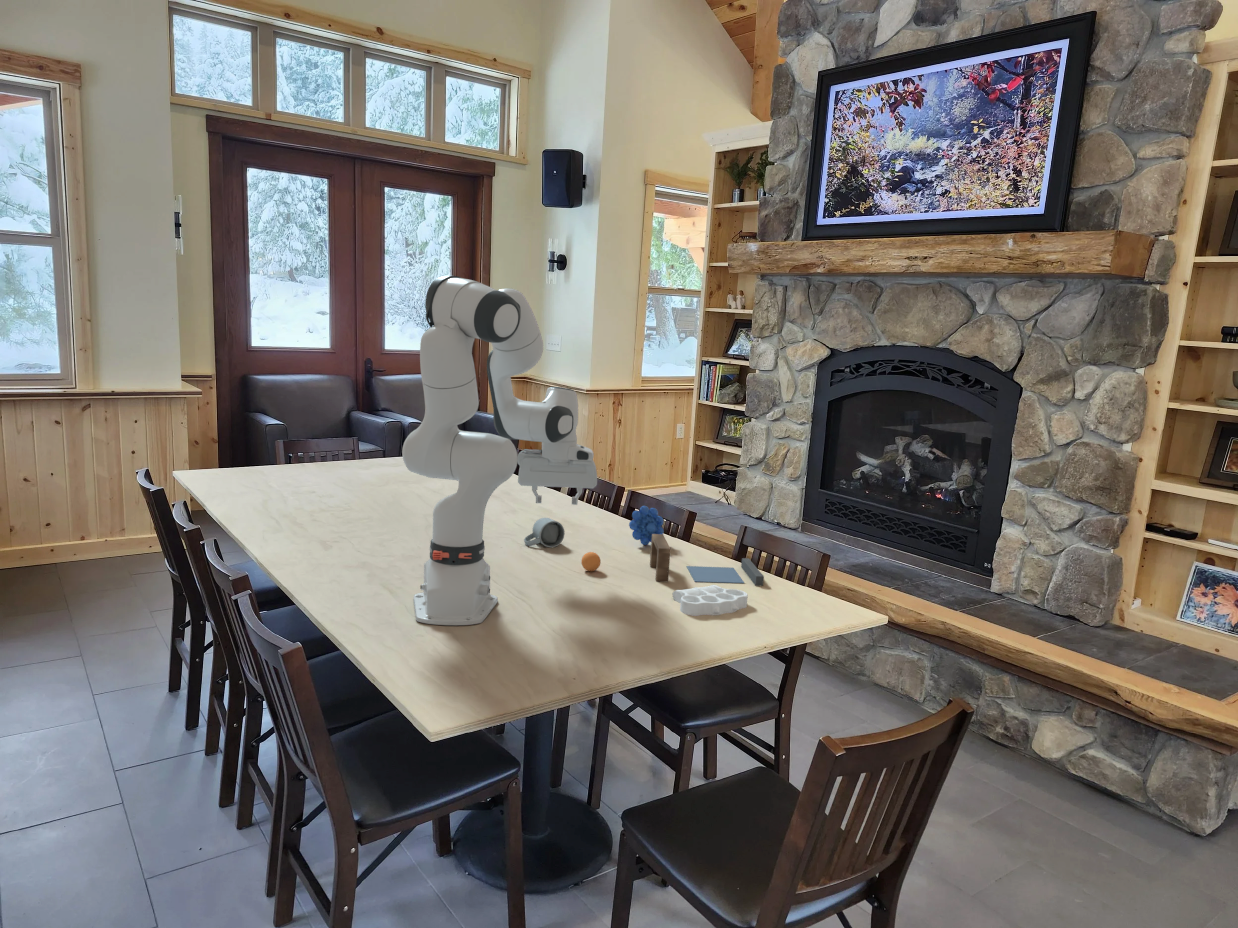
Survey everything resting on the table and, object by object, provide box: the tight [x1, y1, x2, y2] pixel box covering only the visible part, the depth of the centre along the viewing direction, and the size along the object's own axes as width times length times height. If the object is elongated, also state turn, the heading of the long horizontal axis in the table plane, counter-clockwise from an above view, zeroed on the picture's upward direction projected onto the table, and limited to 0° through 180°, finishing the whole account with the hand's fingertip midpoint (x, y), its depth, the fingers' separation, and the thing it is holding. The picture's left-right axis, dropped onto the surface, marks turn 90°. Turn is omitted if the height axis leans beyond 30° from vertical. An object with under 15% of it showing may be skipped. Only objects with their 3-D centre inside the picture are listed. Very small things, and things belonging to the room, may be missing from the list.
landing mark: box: [686, 565, 745, 584], centre depth 221 cm, size 13×13×1 cm
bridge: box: [649, 533, 671, 583], centre depth 219 cm, size 3×14×9 cm, turn 5°
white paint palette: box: [672, 584, 749, 617], centre depth 197 cm, size 3×18×15 cm
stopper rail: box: [740, 557, 765, 587], centre depth 222 cm, size 16×2×2 cm, turn 5°
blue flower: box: [628, 505, 665, 546], centre depth 244 cm, size 12×7×12 cm, turn 117°
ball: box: [581, 551, 602, 572], centre depth 218 cm, size 5×5×5 cm
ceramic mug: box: [523, 517, 566, 549], centre depth 240 cm, size 11×8×8 cm
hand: (556, 503), depth 215 cm, fingers open, 8 cm apart
